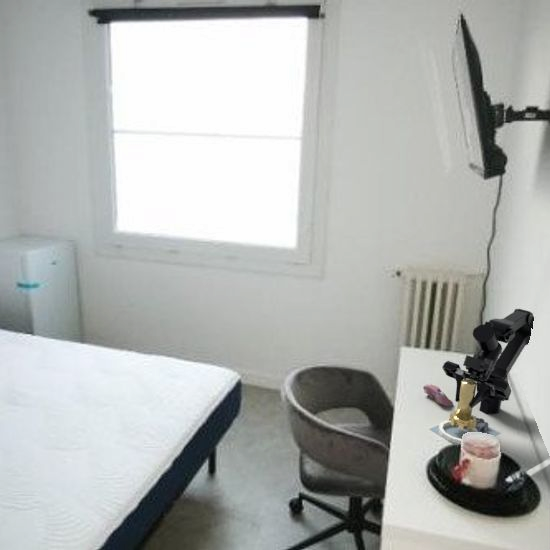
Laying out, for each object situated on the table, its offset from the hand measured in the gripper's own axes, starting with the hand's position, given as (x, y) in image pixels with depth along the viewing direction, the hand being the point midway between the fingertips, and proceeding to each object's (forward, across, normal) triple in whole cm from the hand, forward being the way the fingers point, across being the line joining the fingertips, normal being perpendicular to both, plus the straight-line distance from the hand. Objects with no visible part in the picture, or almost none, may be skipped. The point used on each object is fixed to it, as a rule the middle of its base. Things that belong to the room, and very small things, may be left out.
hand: (463, 404), depth 144 cm
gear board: (+6, 0, +9) cm, 11 cm away
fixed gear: (+1, +2, +12) cm, 12 cm away
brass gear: (+4, 0, +6) cm, 7 cm away
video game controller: (-2, -14, +17) cm, 23 cm away
